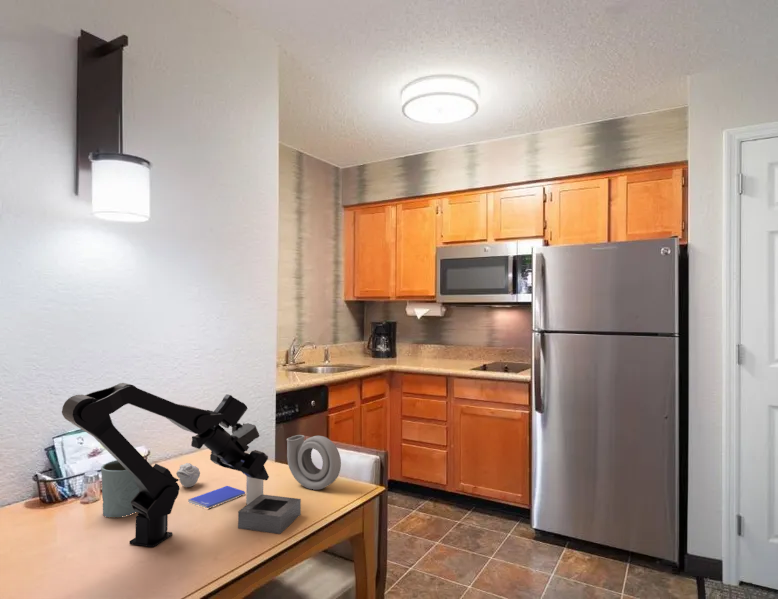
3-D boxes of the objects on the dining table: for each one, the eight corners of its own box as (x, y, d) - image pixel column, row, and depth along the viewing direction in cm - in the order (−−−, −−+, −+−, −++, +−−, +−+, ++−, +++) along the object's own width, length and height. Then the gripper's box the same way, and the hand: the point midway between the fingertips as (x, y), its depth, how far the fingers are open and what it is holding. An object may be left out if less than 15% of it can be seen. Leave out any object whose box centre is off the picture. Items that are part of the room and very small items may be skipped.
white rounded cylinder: (258, 507, 130) (258, 457, 130) (242, 505, 131) (243, 456, 132) (266, 500, 135) (267, 452, 135) (251, 498, 136) (252, 451, 136)
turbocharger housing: (344, 488, 144) (344, 437, 144) (331, 496, 138) (331, 442, 138) (297, 478, 152) (298, 429, 152) (283, 485, 146) (284, 434, 146)
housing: (280, 534, 115) (280, 516, 115) (238, 528, 118) (238, 511, 118) (300, 514, 126) (300, 498, 126) (261, 509, 129) (261, 494, 129)
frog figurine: (171, 489, 142) (171, 465, 142) (188, 481, 148) (188, 458, 149) (188, 492, 140) (188, 467, 140) (205, 484, 147) (205, 460, 147)
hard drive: (207, 505, 128) (245, 491, 139) (188, 498, 133) (226, 485, 143) (207, 511, 128) (245, 496, 139) (188, 504, 133) (226, 490, 143)
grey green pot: (101, 507, 129) (102, 461, 129) (144, 500, 134) (145, 456, 134) (99, 522, 120) (100, 473, 120) (145, 514, 125) (146, 467, 125)
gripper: (261, 421, 124) (296, 455, 132) (220, 410, 136) (254, 442, 144) (233, 460, 118) (271, 493, 126) (193, 446, 129) (230, 477, 138)
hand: (257, 474), depth 134 cm, fingers open, 9 cm apart
